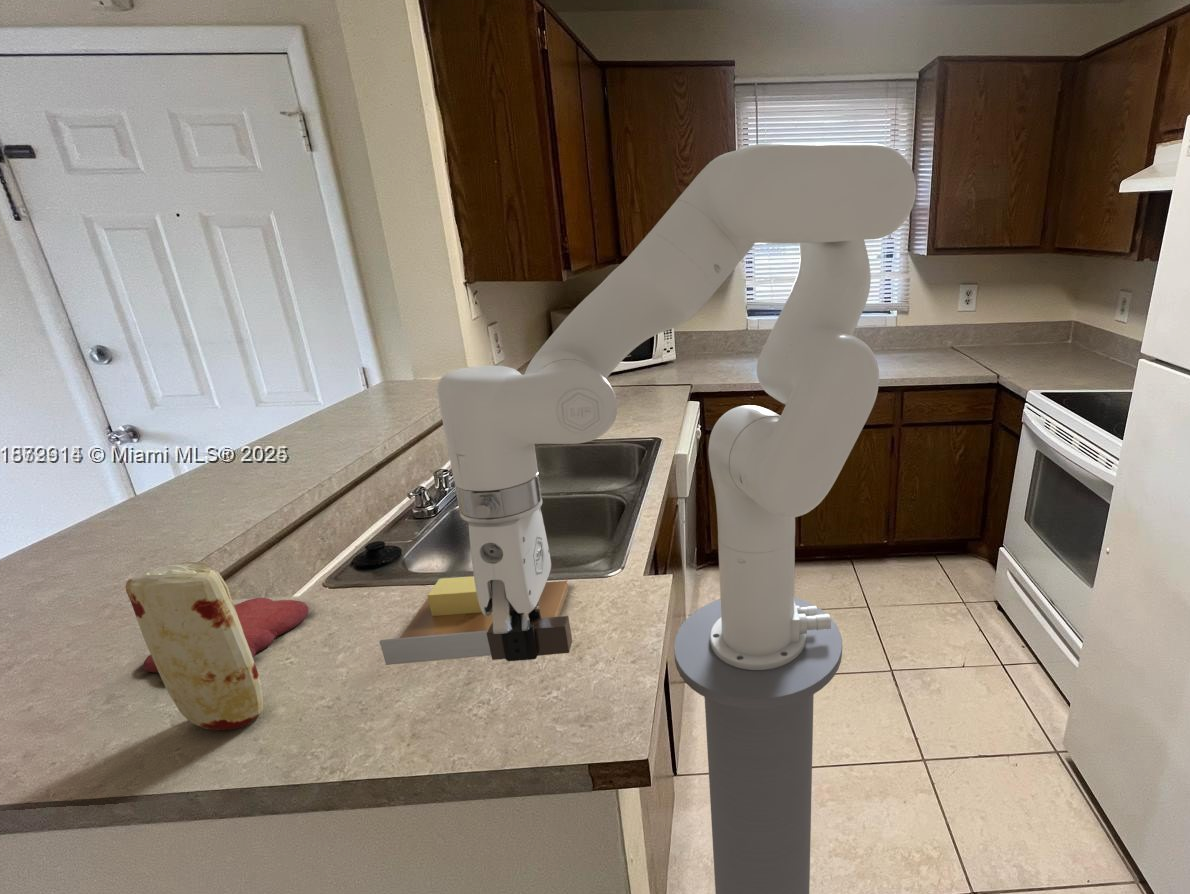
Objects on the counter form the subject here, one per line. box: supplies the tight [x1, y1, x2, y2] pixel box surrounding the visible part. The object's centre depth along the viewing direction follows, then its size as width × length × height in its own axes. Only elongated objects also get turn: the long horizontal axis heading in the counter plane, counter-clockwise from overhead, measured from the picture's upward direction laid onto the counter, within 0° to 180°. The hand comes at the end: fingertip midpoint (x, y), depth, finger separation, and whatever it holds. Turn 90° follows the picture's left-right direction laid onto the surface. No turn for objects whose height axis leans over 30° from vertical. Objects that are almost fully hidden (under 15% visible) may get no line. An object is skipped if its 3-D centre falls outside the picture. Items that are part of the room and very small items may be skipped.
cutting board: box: [399, 580, 570, 638], centre depth 89 cm, size 20×12×2 cm, turn 97°
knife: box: [379, 615, 573, 666], centre depth 65 cm, size 19×2×3 cm, turn 97°
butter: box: [427, 575, 482, 616], centre depth 89 cm, size 7×4×4 cm, turn 97°
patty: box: [142, 597, 310, 674], centre depth 84 cm, size 18×14×2 cm
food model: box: [125, 561, 264, 731], centre depth 67 cm, size 10×7×20 cm
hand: (525, 649), depth 66 cm, fingers closed on knife, 2 cm apart
